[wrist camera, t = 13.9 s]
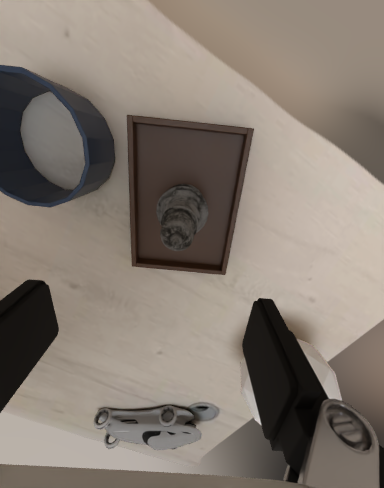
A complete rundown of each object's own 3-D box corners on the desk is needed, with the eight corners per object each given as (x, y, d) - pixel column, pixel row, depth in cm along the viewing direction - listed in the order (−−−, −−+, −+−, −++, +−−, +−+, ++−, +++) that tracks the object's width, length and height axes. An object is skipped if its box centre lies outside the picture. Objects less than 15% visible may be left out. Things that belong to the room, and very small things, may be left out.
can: (30, 188, 27) (-18, 200, 21) (5, 81, 22) (-67, 57, 16) (117, 197, 27) (94, 211, 21) (111, 93, 22) (79, 73, 16)
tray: (135, 259, 31) (131, 266, 29) (132, 117, 23) (126, 114, 21) (223, 267, 31) (225, 275, 29) (249, 130, 23) (254, 128, 21)
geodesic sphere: (208, 397, 35) (283, 508, 25) (225, 338, 29) (335, 453, 19) (261, 356, 44) (333, 426, 34) (283, 304, 38) (379, 370, 28)
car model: (94, 406, 47) (83, 434, 43) (199, 404, 46) (199, 432, 42) (106, 431, 52) (98, 458, 48) (202, 429, 51) (203, 457, 46)
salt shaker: (184, 170, 25) (174, 188, 14) (216, 205, 26) (229, 246, 16) (151, 203, 26) (120, 242, 16) (183, 234, 28) (175, 289, 17)
